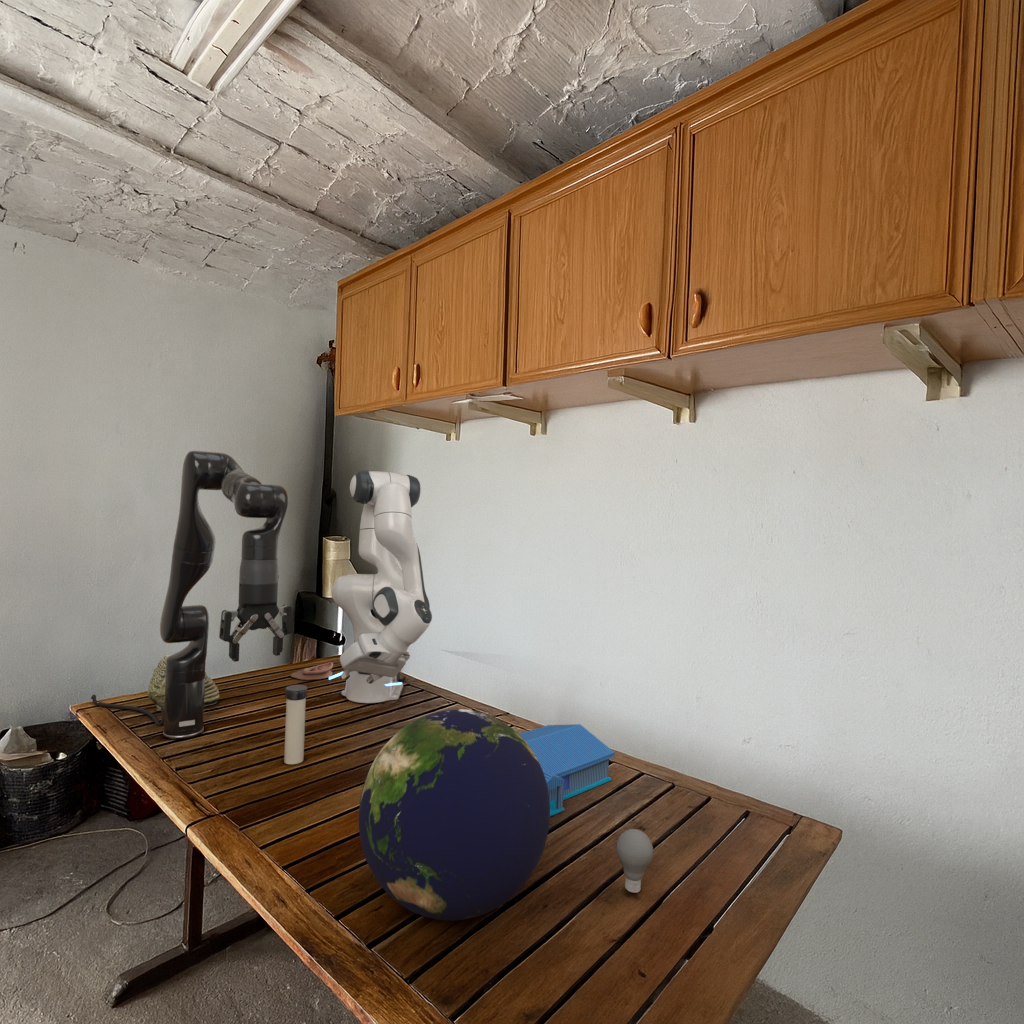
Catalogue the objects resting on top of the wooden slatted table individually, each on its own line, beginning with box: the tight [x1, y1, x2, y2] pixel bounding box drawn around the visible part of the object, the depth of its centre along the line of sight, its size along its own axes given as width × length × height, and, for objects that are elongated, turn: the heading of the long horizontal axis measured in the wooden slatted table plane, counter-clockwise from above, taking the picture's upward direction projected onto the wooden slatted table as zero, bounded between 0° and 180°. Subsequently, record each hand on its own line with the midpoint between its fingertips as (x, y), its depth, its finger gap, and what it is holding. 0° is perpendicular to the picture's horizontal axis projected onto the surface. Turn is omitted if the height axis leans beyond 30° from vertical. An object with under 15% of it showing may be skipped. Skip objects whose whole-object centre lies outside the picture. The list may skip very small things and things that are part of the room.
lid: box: [284, 684, 308, 700], centre depth 151 cm, size 5×5×2 cm
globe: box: [358, 708, 551, 922], centre depth 100 cm, size 30×30×30 cm
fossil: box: [147, 654, 221, 712], centre depth 185 cm, size 9×18×15 cm, turn 132°
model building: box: [518, 723, 615, 817], centre depth 141 cm, size 39×24×10 cm, turn 132°
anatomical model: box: [290, 661, 334, 681], centre depth 221 cm, size 13×4×12 cm
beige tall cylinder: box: [283, 697, 307, 765], centre depth 151 cm, size 4×4×17 cm
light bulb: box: [615, 828, 654, 894], centre depth 106 cm, size 6×6×10 cm
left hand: (256, 657), depth 132 cm, fingers open, 8 cm apart
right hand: (356, 679), depth 180 cm, fingers open, 8 cm apart
